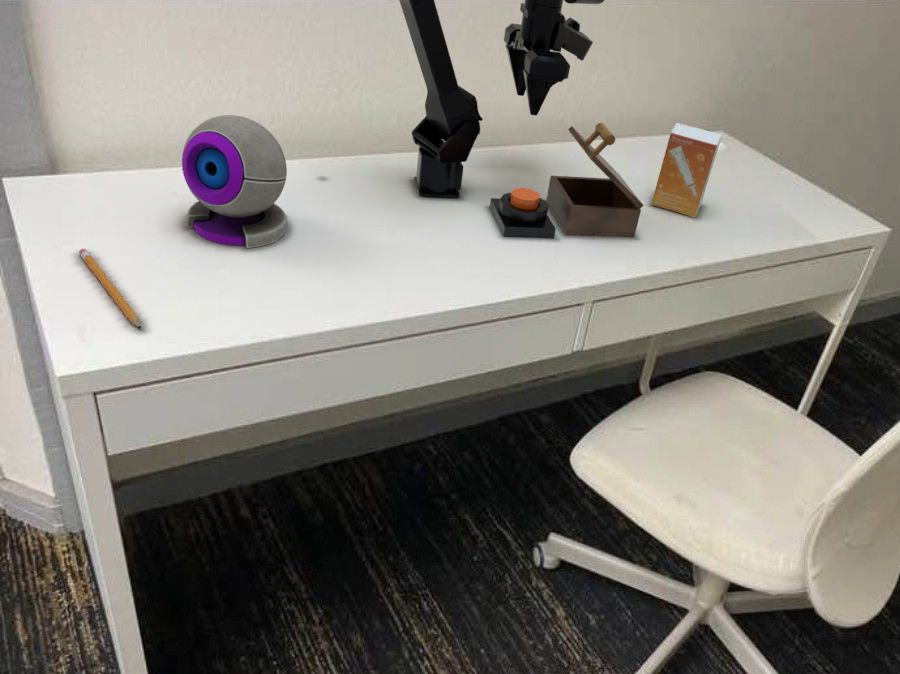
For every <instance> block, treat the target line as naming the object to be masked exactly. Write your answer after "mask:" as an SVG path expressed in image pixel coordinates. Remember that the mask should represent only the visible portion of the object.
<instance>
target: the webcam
mask: <svg viewBox="0 0 900 674" xmlns="http://www.w3.org/2000/svg"><path fill="white" fill-rule="evenodd" d="M181 155H182V158H181V169H182V170H181V171H182V174H183V178H184V182H185V183H186V185H187V187H188V189H189V191H190V192H191V194H192V196H194V198H195V199H196V200H197V201H196V202H195V203H194V204H193V205H191V206H190V207H189V208H188V209H187V213H186V228H187V229H194V231H195V232H196V233H197V234H198V235H199V236H201V237H203V238H204V239H206V240H208V241H211V242H214V243H216V244H217V243H218V244H222V245H227V246H245V248H246V249H250V248H258V247H263V246H267V245H270V244H273V243H276V242H277V241H279V240H281V239H282V238H283V237H284V236H285V235H286V234H287V231H288V217H287V214H286V213H285V211H284V210H283V208H281V207H280V206H279V205H277V204H276V203H275V202H277V200H278V199H279V197H280V196H281V195H282V192H283V190H284V188H285V185H286V181H287V176H288V175H287V174H288V170H287V169H288V168H287V161H286V160H287V159H286V157H285V154H284V150H283V149H282V146H281V144H280V143H279V141H278V140H277V138H276V137H275V136H274V135H273V133H271V132H270V130H268V129H267V128H266V127H265V126H263V125H262V124H260V123H259V122H257V121H255V120H254V119H251V118H247V117H245V116H241V115H235V114H223V115H218V116H217V115H216V116H214V117H210V118H208V119H206V120H204V121H203V122H202V123H199V125H198V126H196V127H195V128H194V129H193V130H192V131H191V132H190V134H189V135H188V137H187V139H186V141H185V143H184V146H183V150H182V154H181Z"/></svg>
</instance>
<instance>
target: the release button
mask: <svg viewBox="0 0 900 674" xmlns="http://www.w3.org/2000/svg"><path fill="white" fill-rule="evenodd" d="M510 193H511V198H510V204H512V205H513V206H515V207H518V208H521V209H528V210H533V209H537V208H538V205H539V199H540V198H541V195H540V194H539V192H537V191H536V190H533V189H530V188H525V187H516V188H513V189H512V190H511V192H510Z"/></svg>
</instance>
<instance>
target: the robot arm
mask: <svg viewBox="0 0 900 674" xmlns="http://www.w3.org/2000/svg"><path fill="white" fill-rule="evenodd" d="M398 1H399V4H400V6H401V9H402V13H403V16H404V20H405V23H406V26H407V29H408V32H409V35H410V40H411V42H412V45H413V48H414V52H415V55H416V58H417V61H418V65H419V68H420V70H421V71H420V72H421V73H422V77H423V81H424V83H425V86H426V91H427V93H426V98H425V102H424V109H425V117H424V118H423V119H422V120H421V121H420V122H419V123H418V124H417V125H416V126H415V128H413V130H412V131H411V136H412V141H413V143H414V144H415V145H417V146H418V155H417V166H416V176H414V177H413V182H414V184H415V188H416V190H417V193H418V195H419V197H424V198H425V197H428V198H449V199H459V198H460V195H461V194H460V192H459V191H461V190H462V185H463V184H462V183H463V176H464V175H463V174H464V164H463V163H465V162H467V161H468V158H469V155H471V151H472V149H473V147H474V145H475V142H476V140H477V139H478V136H479V135H481V122H482V121H483V119H484V118H483V117H482V116H481V114H480V112H479V107H478V100H477V98H476V95H474V94H472V93H471V92H470V91H468V90H466V89H465V88H463V87H461V86H460V85H459V83H458V80H457V77H456V73H455V70H454V65H453V61H452V58H451V56H450V52H449V48H448V45H447V41H446V37H445V33H444V31H443V26H442V24H441V19H440V15H439V12H438V8H437V6H436V1H435V0H398ZM564 2H565V3H567V4H571V5H573V4H575V5H601V4H603V3H604V2H605V0H524V3H521V2H520V7H519V11H520V12H521V14H522V17H521V23H520V24H519V23H510V24H509V25H507V27H505V29H504V35H503V41H504V43H505V49H506V53H507V57H508V61H509V66H510V69H511V73H512V78H513V83H514V87H515V91H516V95H517V96H520V97H523V96H524V95H525V93H526V97H527V103H528V110H529V114H530V115H531V116H538V114H539V112H540V110H541V108H542V107H543V104H544V103H545V100H546V98H547V96H548V94H549V92H550V90H551V88H552V87H553V86H555V85H556V84H557V83H561V82H564V80H568V79H569V75H570V69H571V65H570V62H569V61H568V60H567V58H565V57H564V56H563V54H562V53H561V52H562V49H563V50H564V51H566V52H568V53H570V54H572V55H573V56H576V59H578V60H580V61H582V62H583V61H584V60H585V58H586V56H587V55H588V53H589V50H590V49H591V47H592V46H593V44H594V42H593V40H592V39H590V38H589V36H587V35H586V34H585V33H583V32H582V31H580V30H581V24H580V23H579V22H578V21H577V20H576V19H574V18H572V17H568V18H567V19H566V17H565V15H564V14H563V13H562V9H563V4H564Z"/></svg>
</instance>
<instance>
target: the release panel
mask: <svg viewBox="0 0 900 674" xmlns="http://www.w3.org/2000/svg"><path fill="white" fill-rule="evenodd" d="M510 198H511V192H507V193H503V194H502V196H501V197H500V198H499V197H498V198H497V197H491V198H490V201H489V210H490V212H491V214H492V216H493V218H494V220H495V223H496V224H497V226H498V229H499V230H500V233H501V235H502V237H503V238H528V239H555V233H556V227H555V225H554V223H553V222H552V219H550V217H549V215H548V212H549V206H548V204H547V203H546V200H545V199H544V198H541V197H540V199H539V205H538V208H537V209H533V210H528V209H521V208H518V207H515V206H513V205H512V204H510Z"/></svg>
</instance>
